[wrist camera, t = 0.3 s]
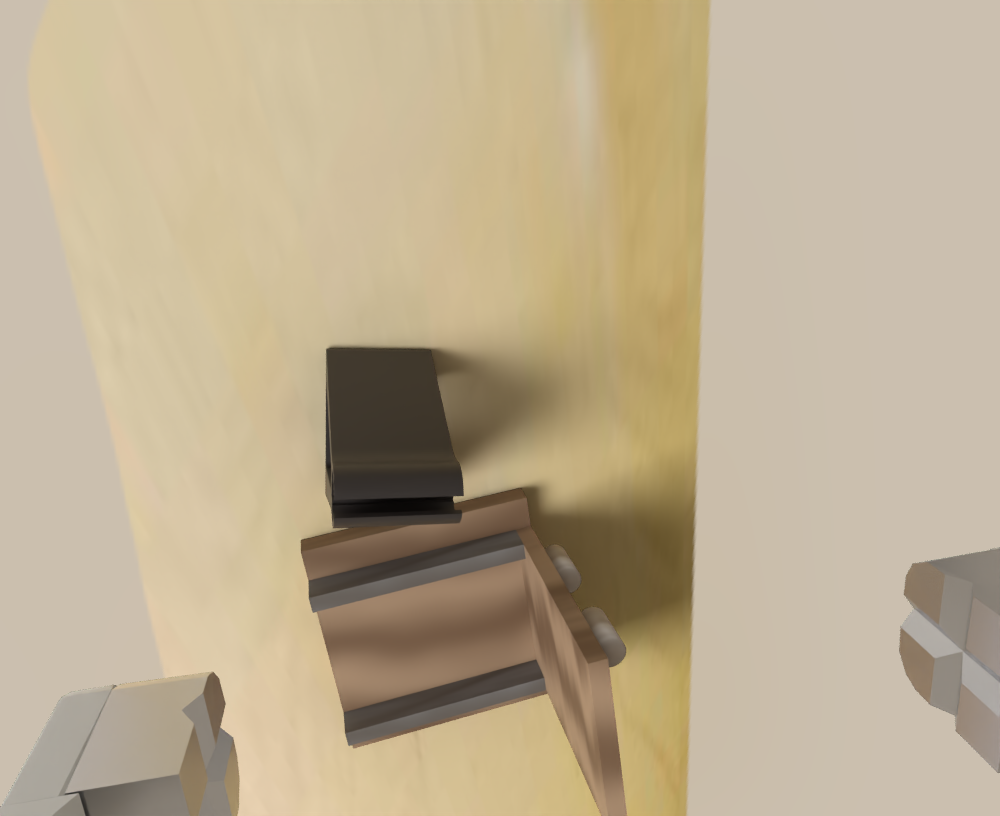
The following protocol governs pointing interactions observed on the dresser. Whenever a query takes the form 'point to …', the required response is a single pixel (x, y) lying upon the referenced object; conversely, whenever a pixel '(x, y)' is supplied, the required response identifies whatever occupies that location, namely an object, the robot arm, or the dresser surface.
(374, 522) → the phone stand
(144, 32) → the dresser surface
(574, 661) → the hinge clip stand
